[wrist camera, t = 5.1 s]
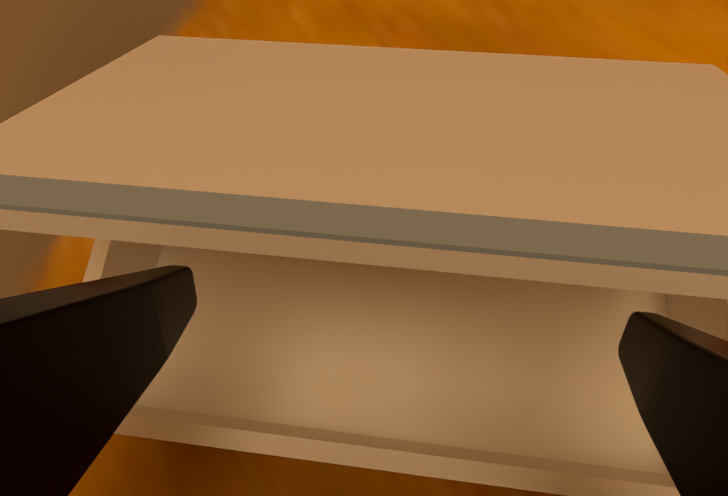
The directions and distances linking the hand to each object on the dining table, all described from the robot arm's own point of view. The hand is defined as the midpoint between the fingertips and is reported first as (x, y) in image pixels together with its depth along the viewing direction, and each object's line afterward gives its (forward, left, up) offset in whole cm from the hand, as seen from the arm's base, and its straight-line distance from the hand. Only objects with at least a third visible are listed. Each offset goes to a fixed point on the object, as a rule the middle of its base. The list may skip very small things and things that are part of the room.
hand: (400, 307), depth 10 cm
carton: (+3, 0, -10) cm, 10 cm away
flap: (+5, 0, -2) cm, 6 cm away
